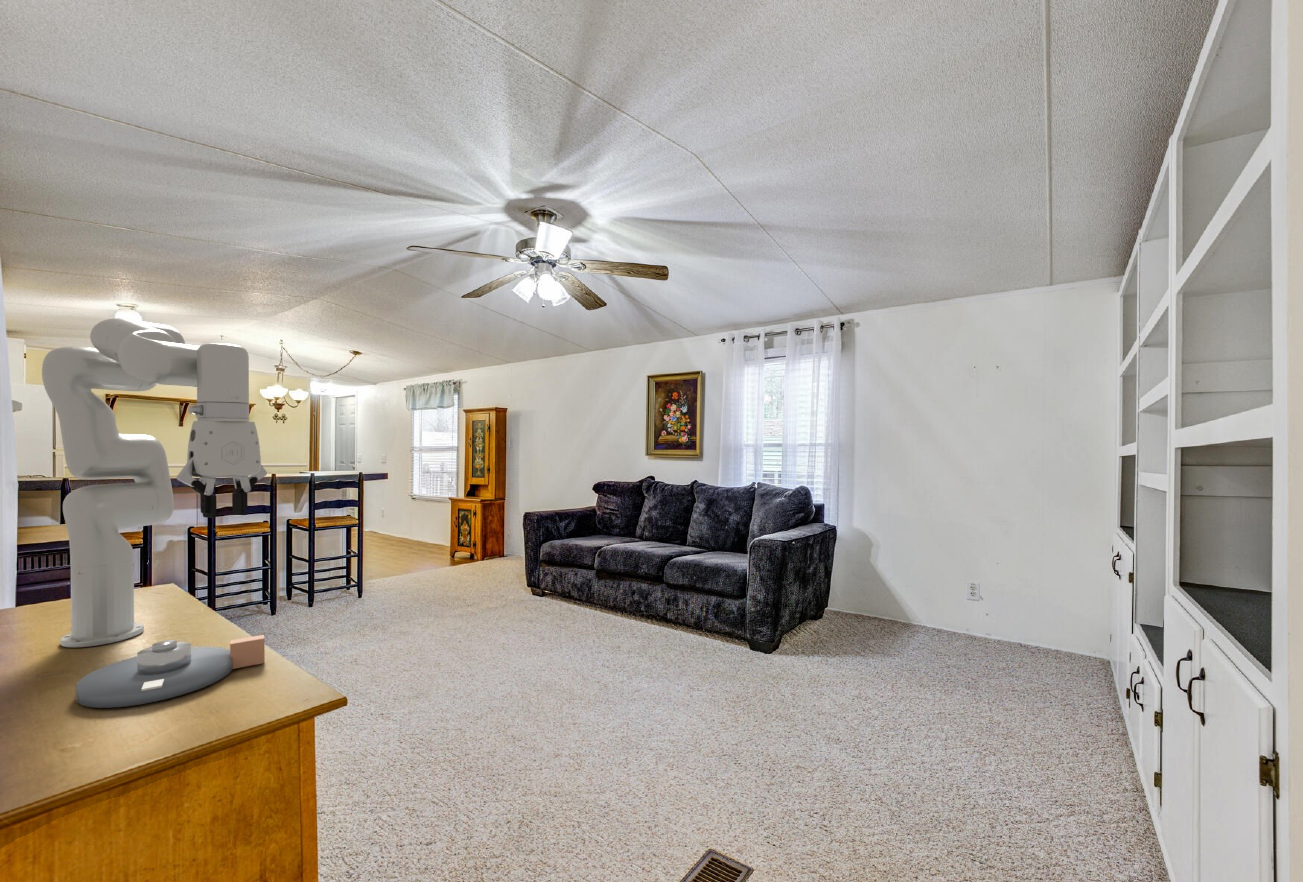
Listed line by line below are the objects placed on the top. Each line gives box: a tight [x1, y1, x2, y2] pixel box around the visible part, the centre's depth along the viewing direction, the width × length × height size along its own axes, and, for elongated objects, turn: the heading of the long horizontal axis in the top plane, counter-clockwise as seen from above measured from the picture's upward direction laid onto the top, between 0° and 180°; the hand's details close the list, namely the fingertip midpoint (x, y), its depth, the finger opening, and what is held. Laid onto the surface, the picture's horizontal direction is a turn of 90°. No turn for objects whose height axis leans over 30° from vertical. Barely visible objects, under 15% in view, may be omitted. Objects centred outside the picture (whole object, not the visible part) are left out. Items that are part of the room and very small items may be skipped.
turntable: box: [75, 634, 266, 709], centre depth 99 cm, size 25×20×4 cm
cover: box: [136, 639, 192, 675], centre depth 98 cm, size 7×7×4 cm
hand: (224, 514), depth 105 cm, fingers open, 4 cm apart
